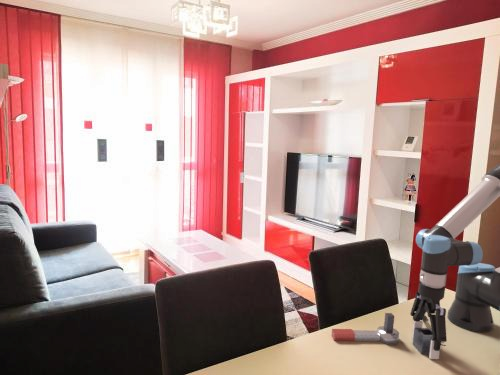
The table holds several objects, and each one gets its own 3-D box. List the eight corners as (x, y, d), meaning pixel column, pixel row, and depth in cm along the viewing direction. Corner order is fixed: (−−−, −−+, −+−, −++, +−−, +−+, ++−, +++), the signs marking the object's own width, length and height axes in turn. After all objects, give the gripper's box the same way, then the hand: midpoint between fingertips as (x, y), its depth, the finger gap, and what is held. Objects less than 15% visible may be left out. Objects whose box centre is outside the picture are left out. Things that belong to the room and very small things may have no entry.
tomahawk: (452, 350, 125) (453, 347, 124) (431, 345, 126) (431, 342, 126) (437, 320, 145) (438, 317, 145) (419, 316, 146) (419, 313, 146)
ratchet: (392, 333, 131) (395, 310, 130) (401, 344, 124) (404, 319, 123) (329, 332, 130) (331, 308, 129) (335, 343, 123) (337, 318, 122)
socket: (428, 344, 125) (430, 328, 124) (437, 354, 120) (439, 336, 119) (412, 344, 125) (414, 327, 124) (420, 353, 120) (423, 336, 119)
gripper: (404, 270, 130) (397, 330, 133) (441, 299, 108) (432, 370, 111) (424, 271, 131) (418, 330, 134) (465, 299, 108) (456, 370, 111)
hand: (424, 348), depth 122 cm, fingers open, 10 cm apart
